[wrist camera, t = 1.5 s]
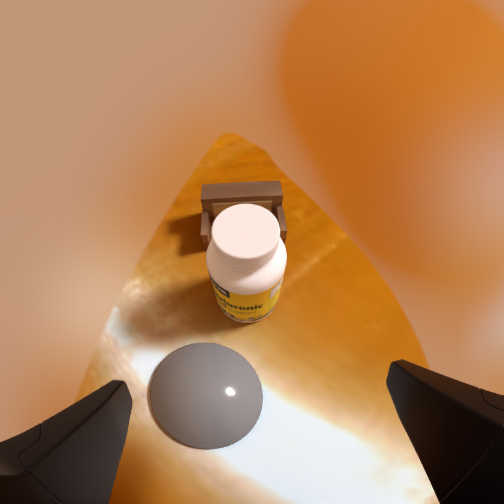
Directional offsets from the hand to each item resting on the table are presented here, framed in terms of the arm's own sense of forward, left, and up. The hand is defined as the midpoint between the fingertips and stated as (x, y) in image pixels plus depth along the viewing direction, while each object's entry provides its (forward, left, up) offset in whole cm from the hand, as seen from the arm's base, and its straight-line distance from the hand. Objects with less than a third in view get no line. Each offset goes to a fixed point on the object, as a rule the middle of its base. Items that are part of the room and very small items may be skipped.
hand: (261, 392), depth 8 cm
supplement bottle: (+7, +6, -14) cm, 16 cm away
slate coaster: (-2, +3, -13) cm, 14 cm away
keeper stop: (+13, +11, -13) cm, 21 cm away
